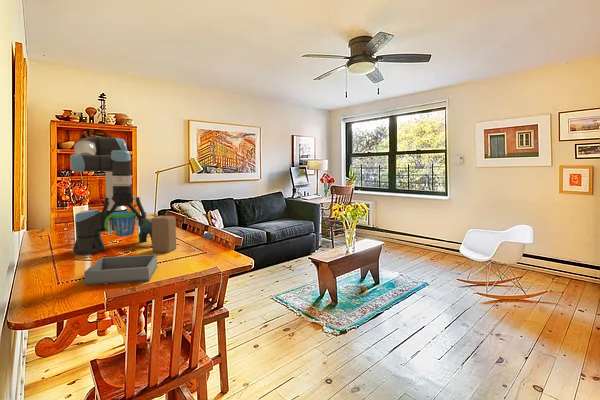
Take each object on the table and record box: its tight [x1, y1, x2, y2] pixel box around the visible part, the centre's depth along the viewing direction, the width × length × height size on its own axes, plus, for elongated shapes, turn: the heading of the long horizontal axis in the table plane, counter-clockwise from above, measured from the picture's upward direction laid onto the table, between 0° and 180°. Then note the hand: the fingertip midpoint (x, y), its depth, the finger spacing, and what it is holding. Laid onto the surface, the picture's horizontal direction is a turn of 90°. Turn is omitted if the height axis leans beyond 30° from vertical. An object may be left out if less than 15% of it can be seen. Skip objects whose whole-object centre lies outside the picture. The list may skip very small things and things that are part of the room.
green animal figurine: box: [135, 212, 152, 243], centre depth 195 cm, size 20×6×20 cm, turn 55°
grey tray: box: [83, 254, 158, 287], centre depth 139 cm, size 24×20×6 cm
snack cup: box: [104, 210, 137, 237], centre depth 139 cm, size 16×10×10 cm
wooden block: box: [150, 215, 177, 254], centre depth 179 cm, size 10×10×20 cm
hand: (124, 233), depth 140 cm, fingers closed on snack cup, 11 cm apart
